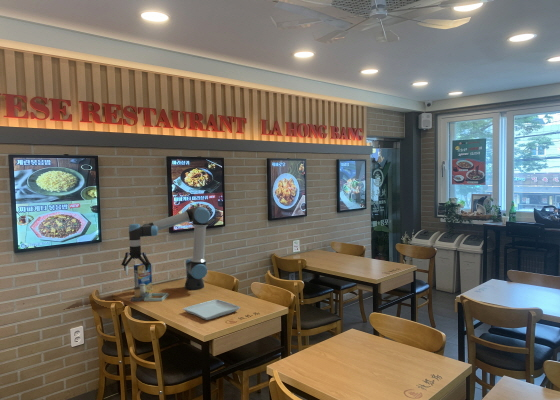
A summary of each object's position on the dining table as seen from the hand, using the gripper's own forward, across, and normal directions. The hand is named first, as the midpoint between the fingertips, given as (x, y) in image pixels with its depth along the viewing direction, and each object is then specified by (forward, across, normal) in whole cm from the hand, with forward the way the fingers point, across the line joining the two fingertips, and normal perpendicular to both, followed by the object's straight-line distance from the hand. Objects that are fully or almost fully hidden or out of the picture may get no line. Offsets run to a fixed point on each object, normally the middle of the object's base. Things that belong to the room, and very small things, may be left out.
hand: (136, 275), depth 291 cm
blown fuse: (+18, 0, 0) cm, 18 cm away
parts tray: (+18, -13, -4) cm, 23 cm away
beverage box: (+19, +4, -20) cm, 28 cm away
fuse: (+18, 0, -9) cm, 20 cm away
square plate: (+19, -60, +26) cm, 68 cm away
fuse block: (+18, 0, -4) cm, 19 cm away
